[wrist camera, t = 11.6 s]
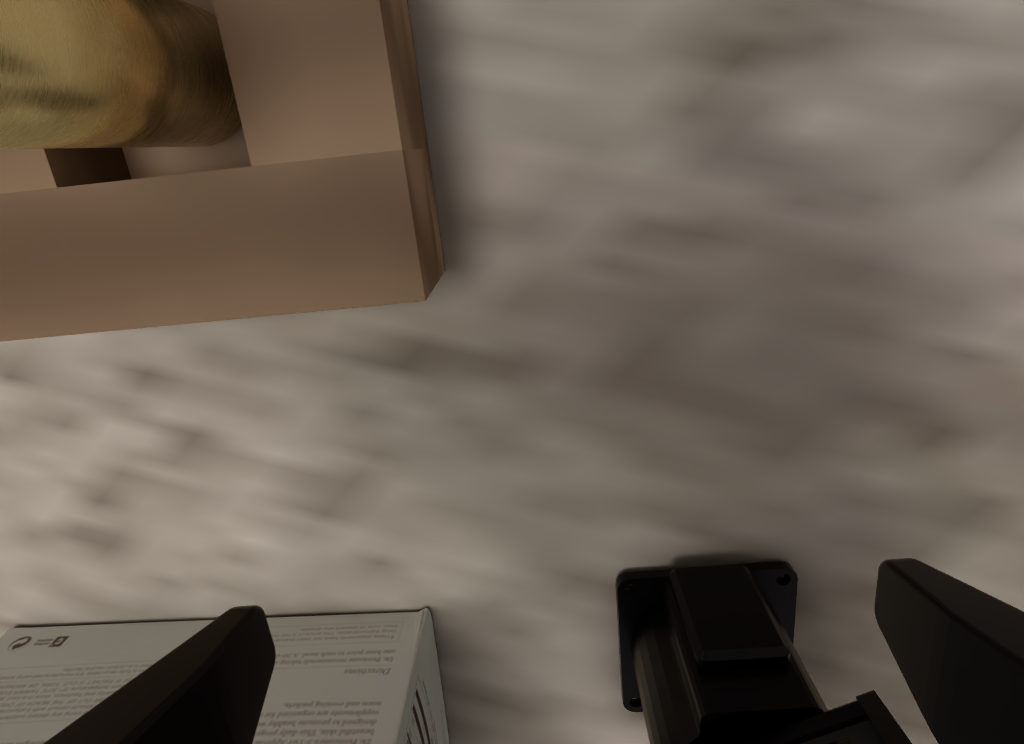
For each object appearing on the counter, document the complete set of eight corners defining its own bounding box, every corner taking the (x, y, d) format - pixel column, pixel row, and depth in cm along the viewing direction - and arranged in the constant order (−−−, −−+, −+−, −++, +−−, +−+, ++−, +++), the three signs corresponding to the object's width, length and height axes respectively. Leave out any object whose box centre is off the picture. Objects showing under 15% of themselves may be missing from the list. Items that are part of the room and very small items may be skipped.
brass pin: (267, 139, 17) (17, 136, 9) (145, 153, 17) (-214, 162, 9) (235, -5, 16) (-92, -171, 8) (105, 11, 16) (-355, -133, 8)
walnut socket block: (445, 270, 19) (425, 300, 16) (78, 306, 20) (-26, 343, 16) (377, -213, 15) (328, -329, 11) (-82, -147, 16) (-271, -238, 12)
